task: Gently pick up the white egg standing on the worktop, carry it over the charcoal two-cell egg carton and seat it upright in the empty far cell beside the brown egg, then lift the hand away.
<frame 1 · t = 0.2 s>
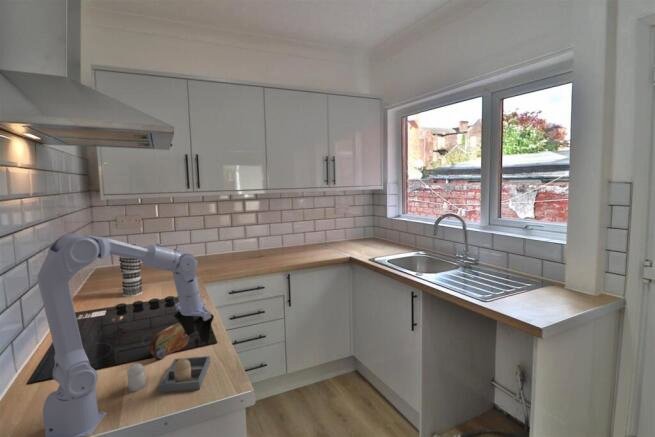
hand: (198, 336, 102), 11 cm above the counter, tool pointing down, fingers open, 7 cm apart
brown egg: (183, 383, 97), resting on carton
egg: (137, 388, 95), on the counter
carton: (186, 378, 100), on the counter
decorative candle: (132, 294, 176), on the counter
tin: (172, 352, 116), on the counter
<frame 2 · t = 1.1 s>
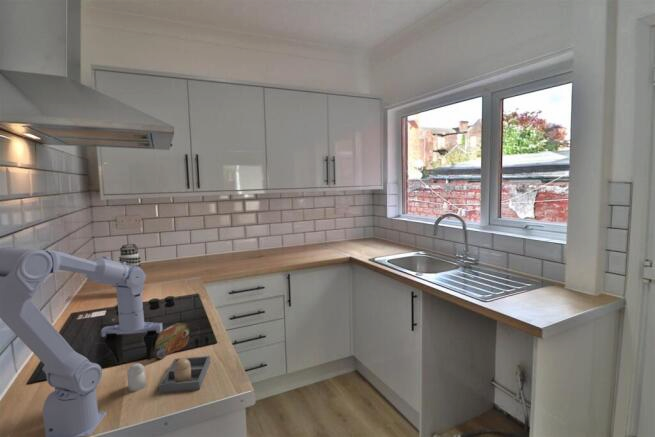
hand: (135, 359, 95), 8 cm above the counter, tool pointing down, fingers open, 7 cm apart
nothing on the counter moved.
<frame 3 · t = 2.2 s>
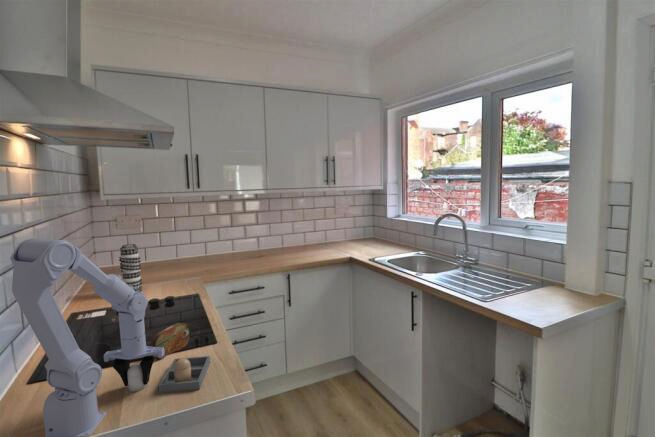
hand: (137, 383, 95), 1 cm above the counter, tool pointing down, fingers closed on egg, 4 cm apart
egg: (137, 388, 95), on the counter, touching gripper
everything else where it was.
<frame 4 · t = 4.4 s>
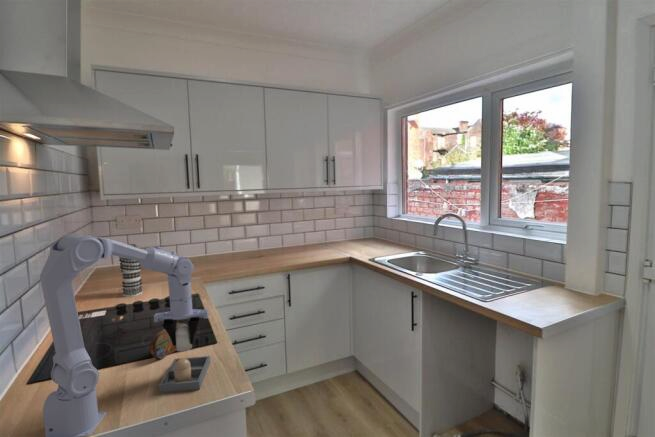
hand: (184, 343, 102), 9 cm above the counter, tool pointing down, fingers closed on egg, 4 cm apart
egg: (184, 348, 102), point 8 cm above the counter, touching gripper
everything else where it was.
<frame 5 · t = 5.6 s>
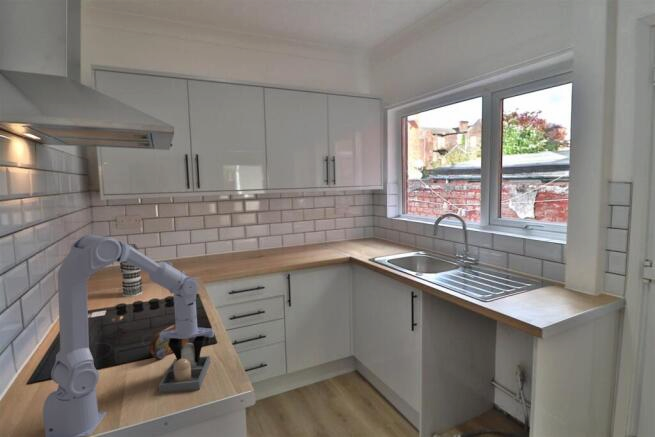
hand: (189, 361, 103), 3 cm above the counter, tool pointing down, fingers closed on egg, 4 cm apart
egg: (189, 366, 103), point 2 cm above the counter, touching gripper
everything else where it was.
when the fingers open (3 cm above the counter, at t = 6.6 s): egg stays where it is, resting on carton.
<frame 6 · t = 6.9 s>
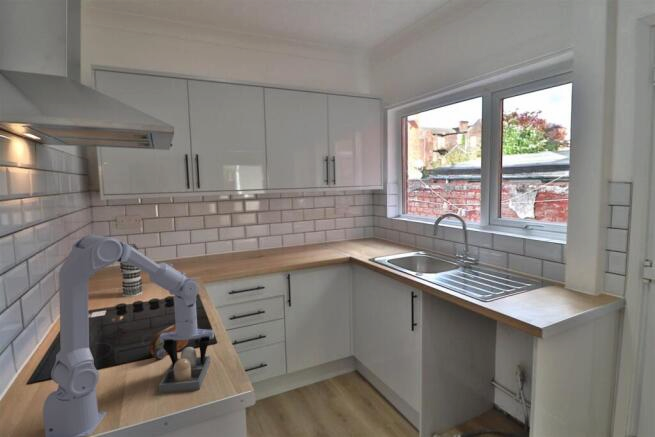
hand: (189, 363, 103), 3 cm above the counter, tool pointing down, fingers open, 7 cm apart
egg: (189, 370, 103), point 1 cm above the counter, touching carton
everything else where it was.
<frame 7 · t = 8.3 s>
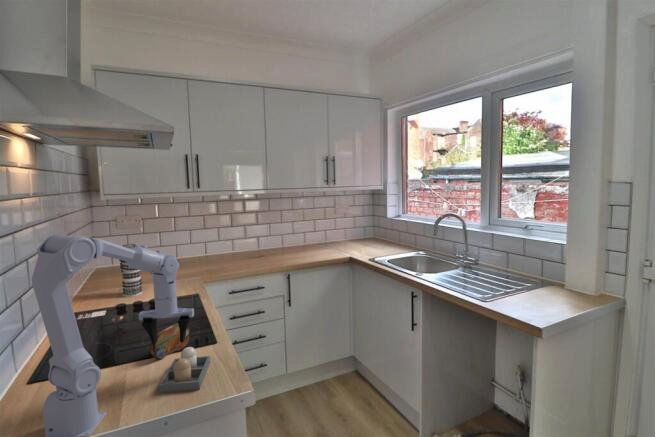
hand: (168, 341, 102), 9 cm above the counter, tool pointing down, fingers open, 7 cm apart
nothing on the counter moved.
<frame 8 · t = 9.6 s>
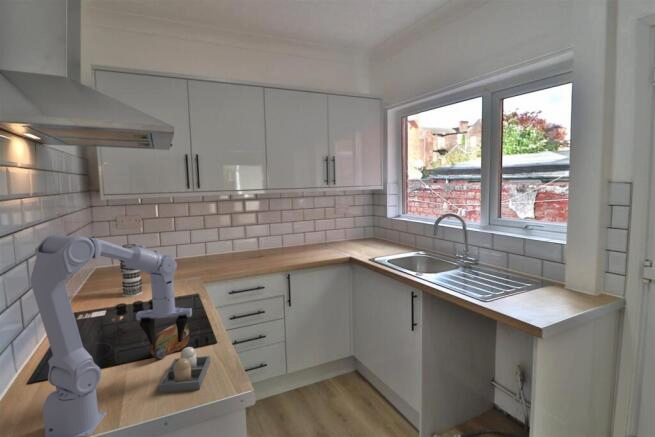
hand: (166, 341, 102), 9 cm above the counter, tool pointing down, fingers open, 7 cm apart
nothing on the counter moved.
at the end: egg 0.1 cm from the target spot on the carton, point 0.5 cm above the carton's base; egg tilted 1°; the gripper is holding nothing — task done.
